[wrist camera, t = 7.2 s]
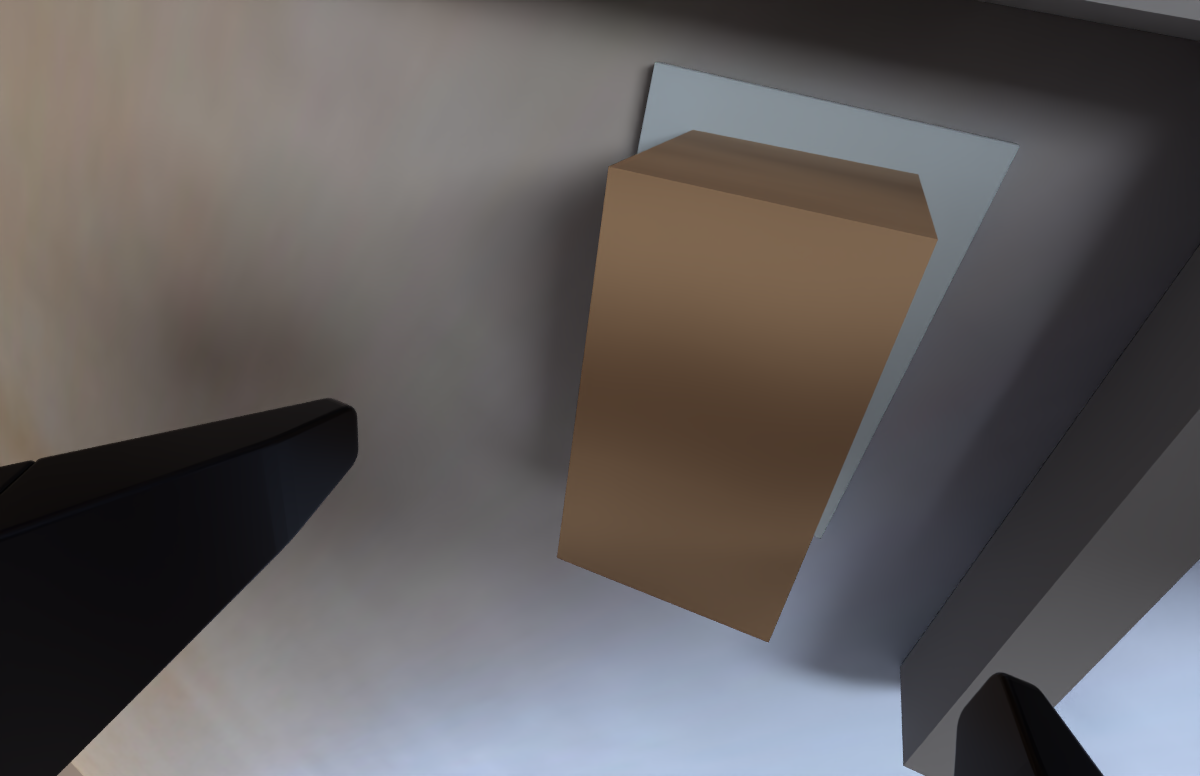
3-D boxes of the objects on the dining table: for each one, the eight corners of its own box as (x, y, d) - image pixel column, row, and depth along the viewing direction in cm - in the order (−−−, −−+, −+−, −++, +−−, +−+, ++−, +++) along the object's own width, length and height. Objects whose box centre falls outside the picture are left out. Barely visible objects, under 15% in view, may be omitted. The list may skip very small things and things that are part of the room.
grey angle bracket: (1545, -34, 8) (1816, -68, 6) (955, 690, 17) (967, 795, 15) (377, -201, 13) (258, -260, 10) (385, 448, 22) (322, 499, 19)
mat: (1016, 144, 11) (1019, 146, 11) (821, 532, 17) (820, 539, 17) (659, 62, 13) (655, 61, 13) (583, 439, 18) (579, 445, 18)
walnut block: (796, 492, 16) (768, 642, 12) (633, 436, 17) (557, 557, 13) (918, 173, 12) (938, 240, 8) (692, 129, 13) (608, 166, 9)
